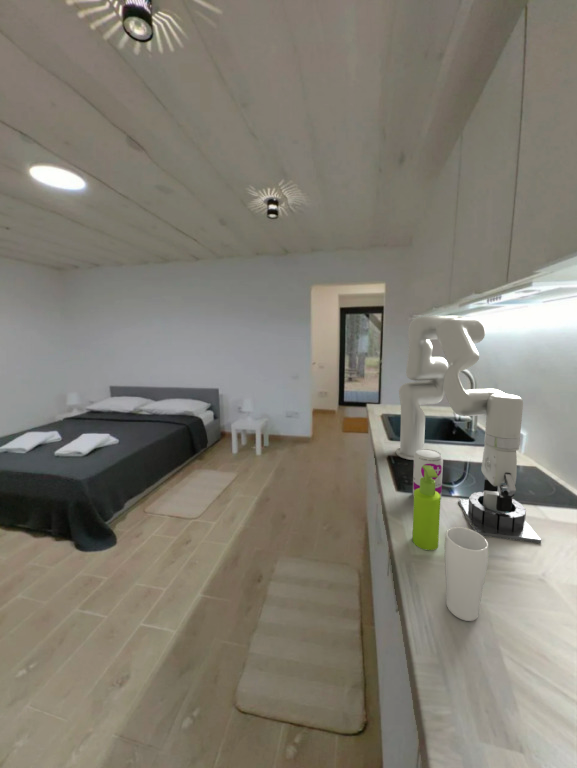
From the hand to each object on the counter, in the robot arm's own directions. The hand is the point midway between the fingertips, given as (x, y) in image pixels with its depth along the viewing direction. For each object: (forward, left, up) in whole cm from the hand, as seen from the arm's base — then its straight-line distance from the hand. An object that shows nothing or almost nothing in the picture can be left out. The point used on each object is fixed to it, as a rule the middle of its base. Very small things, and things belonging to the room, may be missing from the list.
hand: (496, 501), depth 82 cm
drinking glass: (+32, -17, -6) cm, 37 cm away
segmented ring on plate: (0, 0, -6) cm, 6 cm away
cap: (0, 0, -5) cm, 5 cm away
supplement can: (-9, -16, -6) cm, 19 cm away
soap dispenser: (+14, -20, -6) cm, 25 cm away
